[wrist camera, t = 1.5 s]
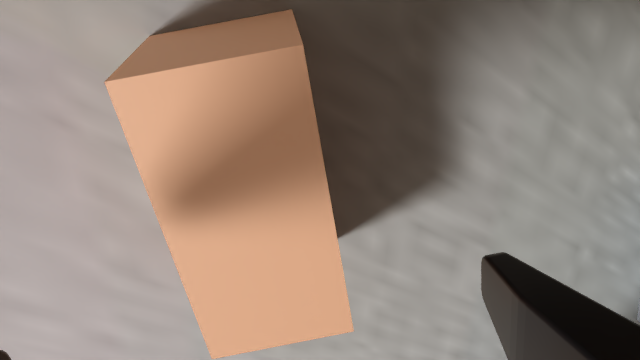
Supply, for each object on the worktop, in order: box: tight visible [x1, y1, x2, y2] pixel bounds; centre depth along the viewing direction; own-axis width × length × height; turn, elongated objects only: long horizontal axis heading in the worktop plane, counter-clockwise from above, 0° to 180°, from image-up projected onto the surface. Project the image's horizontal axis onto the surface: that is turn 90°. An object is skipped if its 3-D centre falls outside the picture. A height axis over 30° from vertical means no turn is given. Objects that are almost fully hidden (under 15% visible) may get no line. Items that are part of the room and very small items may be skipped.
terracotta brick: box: [105, 9, 354, 359], centre depth 14 cm, size 8×4×4 cm, turn 9°
